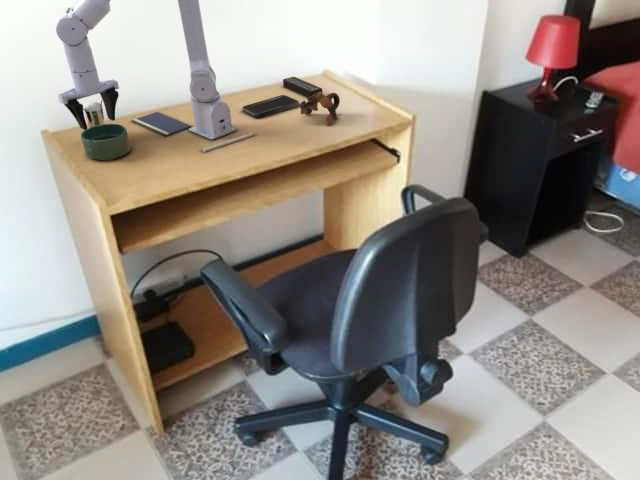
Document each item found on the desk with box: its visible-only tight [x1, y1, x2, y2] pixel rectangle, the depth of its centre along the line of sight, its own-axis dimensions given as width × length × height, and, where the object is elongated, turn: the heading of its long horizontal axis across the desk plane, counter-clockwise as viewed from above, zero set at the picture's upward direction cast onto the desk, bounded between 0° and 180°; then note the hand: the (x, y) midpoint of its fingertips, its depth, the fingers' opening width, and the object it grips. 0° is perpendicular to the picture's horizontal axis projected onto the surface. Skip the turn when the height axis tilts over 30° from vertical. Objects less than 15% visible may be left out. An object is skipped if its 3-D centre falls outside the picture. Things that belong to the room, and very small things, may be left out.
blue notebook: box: [131, 111, 192, 137], centre depth 155 cm, size 15×8×1 cm, turn 51°
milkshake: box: [82, 100, 106, 128], centre depth 144 cm, size 4×5×10 cm
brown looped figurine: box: [298, 91, 341, 126], centre depth 158 cm, size 12×10×8 cm
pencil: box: [202, 132, 254, 153], centre depth 146 cm, size 1×1×15 cm
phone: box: [242, 94, 300, 119], centre depth 164 cm, size 8×1×15 cm
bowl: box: [80, 123, 132, 161], centre depth 139 cm, size 10×10×5 cm
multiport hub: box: [282, 76, 323, 99], centre depth 175 cm, size 4×14×2 cm, turn 42°
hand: (98, 123), depth 145 cm, fingers open, 7 cm apart
